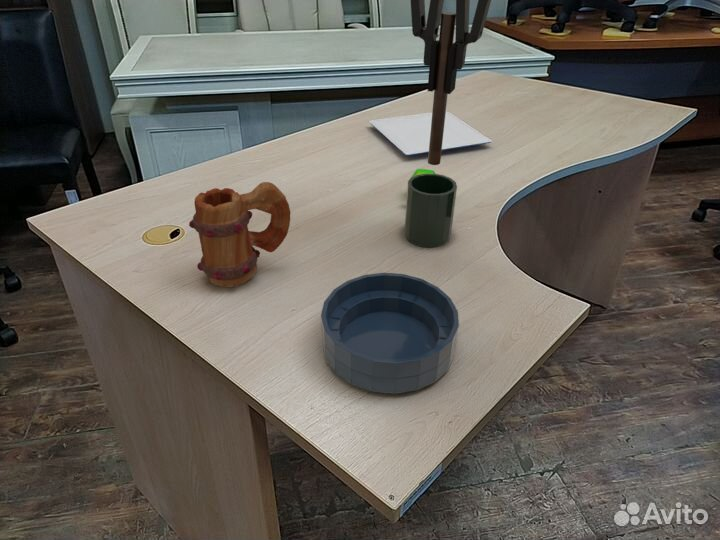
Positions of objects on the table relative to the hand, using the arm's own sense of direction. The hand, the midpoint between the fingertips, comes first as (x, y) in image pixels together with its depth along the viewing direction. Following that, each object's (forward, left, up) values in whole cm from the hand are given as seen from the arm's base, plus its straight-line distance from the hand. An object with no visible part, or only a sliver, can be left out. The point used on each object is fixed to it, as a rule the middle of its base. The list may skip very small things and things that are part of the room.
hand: (441, 89), depth 78 cm
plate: (+14, -43, -26) cm, 52 cm away
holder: (0, 0, -25) cm, 25 cm away
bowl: (-4, +29, -25) cm, 39 cm away
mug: (+22, +23, -26) cm, 41 cm away
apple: (+5, -12, -26) cm, 29 cm away
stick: (0, 0, -12) cm, 12 cm away
